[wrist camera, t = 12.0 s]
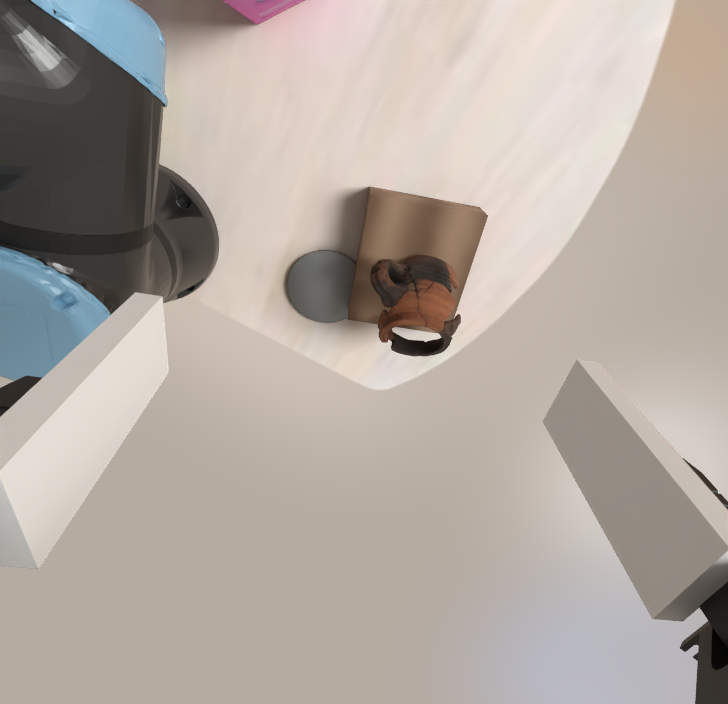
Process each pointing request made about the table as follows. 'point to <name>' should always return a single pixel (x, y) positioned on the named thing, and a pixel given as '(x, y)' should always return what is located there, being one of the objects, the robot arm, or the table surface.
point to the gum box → (261, 8)
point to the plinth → (412, 243)
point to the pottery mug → (416, 302)
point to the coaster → (322, 285)
